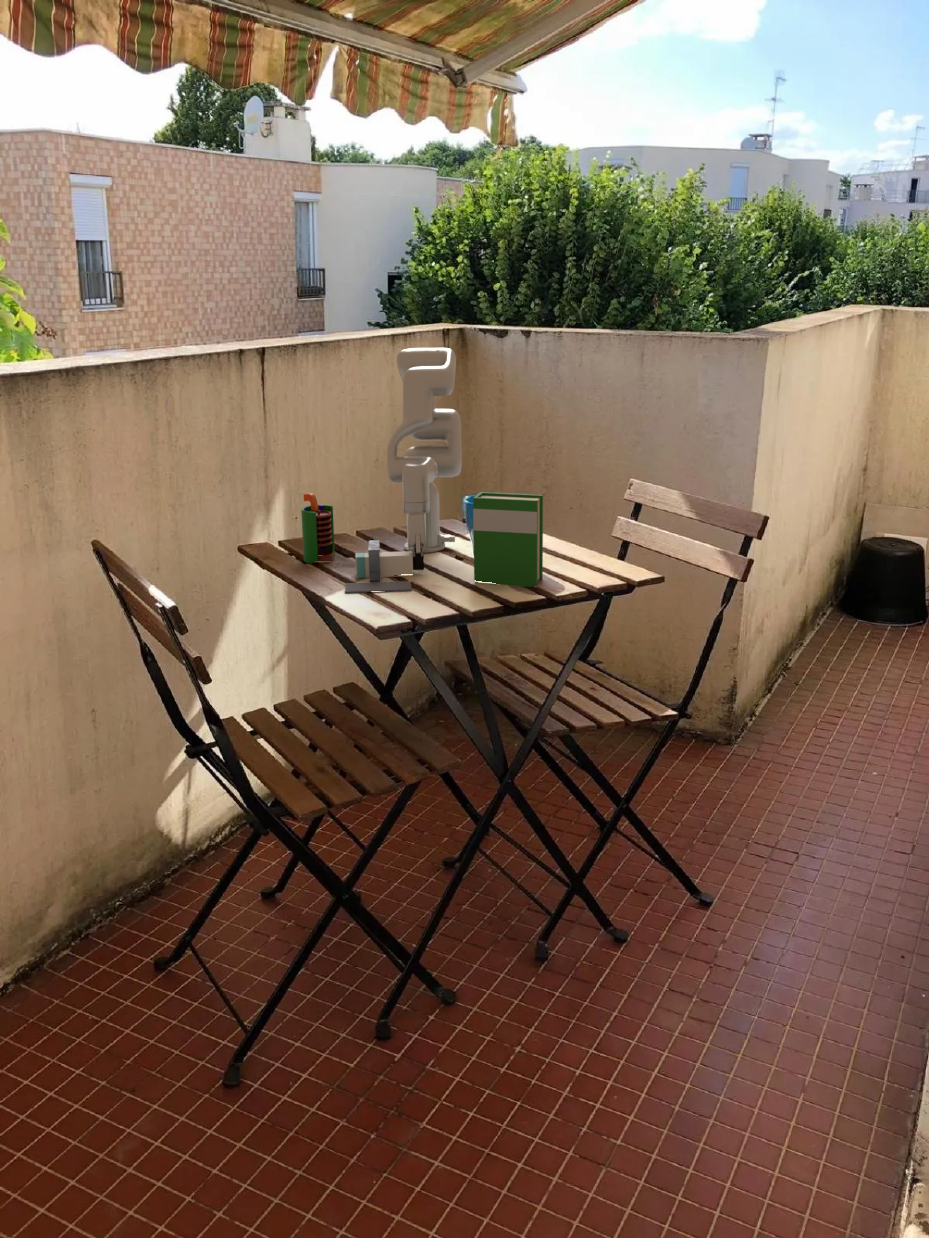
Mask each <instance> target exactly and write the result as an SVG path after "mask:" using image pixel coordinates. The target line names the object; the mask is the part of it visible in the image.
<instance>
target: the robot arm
mask: <svg viewBox="0 0 929 1238" xmlns="http://www.w3.org/2000/svg"><path fill="white" fill-rule="evenodd" d="M396 365H397V369H398V374H399V376H400V378H401V380H402V420H401V422H400V424H399V425H398V426H397V427H396V428H395V429H394V430H393V432H392V434H391V435H390V438H389V440H388V443H387V448H386V449H387V450H386V472H387V473H386V474H387V477H388V479H389V481H390V482H391V483H393V484H401V488H402V490H401V491H402V512H403V513H404V514H406V538H407V539H406V540H407V542H405V543H404V550H405V551H412V555H413V571H423V570H425V561H424V560H425V558H424V553H427V554H428V553H435V552H439V551H442V550H444V549H445V548H446V543H455V542H456V538H455V537H456V536H455V535H451V534H443V533H441V530H440V529H441V528H440V527H441V526H440V524H441V523H440V522H441V521H440V493H439V489H438V487H437V486H436V484H435V483H434V481H435V479H437V478H456V477H457V476H459V475H460V474H461V471H462V467H463V466H462V465H463V458H462V457H463V455H462V454H463V453H462V445H463V444H462V423H461V422H462V421H461V416H460V414H459V412H458V411H457V410H455V409H453V408H437V405H436V403H437V401H436V400H437V397H448V396H450V395H452V393H453V391H454V389H455V384H456V383H455V382H456V371H457V370H456V369H457V358H456V353H455V352H454V350H453V349H451V348H449V347H411V348H405V349H401V350H400V351H399V352H398V353H397V355H396ZM408 436H409V438H411V439H412V440H413V441H418V442H419V441H420V442H439V441H441V442H445V443H446V445H445V444H444V445H438V444H437V445H433V444H432V445H431V444H429V445H414V446H411V447H408V448H407V449H406V450H405V451H404V453H403V456H398V450H399V449H398V448H399V445H400V444H401V442H402V441H403V440H404V439H405V438H407V437H408Z"/></svg>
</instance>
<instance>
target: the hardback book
mask: <svg viewBox="0 0 929 1238" xmlns="http://www.w3.org/2000/svg"><path fill="white" fill-rule="evenodd" d="M472 509H473V510H472V511H473V512H472V513H473V516H472V517H473V519H472V521H473V522H472V523H473V526H472V527H473V528H472V529H473V581H474V580H476V581H482V582H492V583H496V584H500V585H499V586H514V587H524V588H525V587H528V588H532V587H531V586H537V587H538V581H543V577H544V576H543V574H544V573H543V571H544V568H543V565H544V564H543V563H544V562H543V561H544V559H543V557H544V551H543V550H544V549H543V548H544V547H543V546H544V520H543V519H544V494H532V493H531V494H528V493H514V492H513V493H509V492H508V493H507V492H492V491H491V492H488V491H487V492H485V491H480V492H478V493H477V494H476V495H475V496H474V497H472ZM496 584H495V585H496Z"/></svg>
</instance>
